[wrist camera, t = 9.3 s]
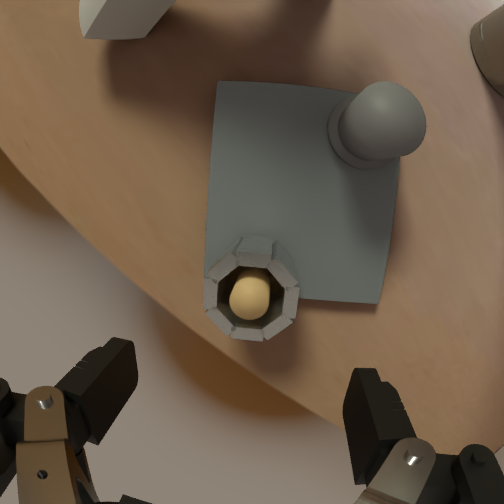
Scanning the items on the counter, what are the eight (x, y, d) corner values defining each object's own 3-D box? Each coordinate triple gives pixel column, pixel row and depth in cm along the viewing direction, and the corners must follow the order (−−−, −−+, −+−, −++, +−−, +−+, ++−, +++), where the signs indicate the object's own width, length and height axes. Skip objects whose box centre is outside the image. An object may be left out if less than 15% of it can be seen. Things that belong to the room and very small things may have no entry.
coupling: (297, 239, 22) (303, 257, 17) (289, 310, 23) (291, 344, 18) (221, 232, 22) (205, 248, 17) (217, 303, 23) (202, 334, 18)
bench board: (396, 105, 21) (439, 81, 13) (374, 298, 24) (406, 342, 17) (220, 85, 21) (196, 48, 14) (207, 283, 25) (180, 324, 18)
